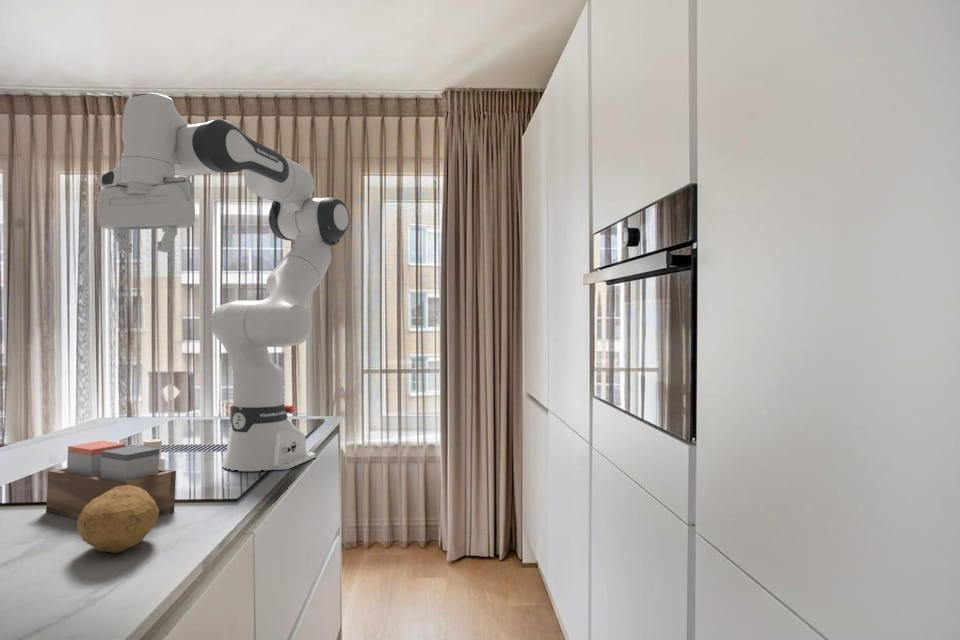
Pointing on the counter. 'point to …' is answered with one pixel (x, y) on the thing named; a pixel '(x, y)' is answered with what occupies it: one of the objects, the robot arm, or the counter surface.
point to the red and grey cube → (88, 456)
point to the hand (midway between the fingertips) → (144, 252)
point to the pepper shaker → (156, 444)
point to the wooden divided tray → (103, 490)
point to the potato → (118, 518)
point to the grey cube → (129, 463)
